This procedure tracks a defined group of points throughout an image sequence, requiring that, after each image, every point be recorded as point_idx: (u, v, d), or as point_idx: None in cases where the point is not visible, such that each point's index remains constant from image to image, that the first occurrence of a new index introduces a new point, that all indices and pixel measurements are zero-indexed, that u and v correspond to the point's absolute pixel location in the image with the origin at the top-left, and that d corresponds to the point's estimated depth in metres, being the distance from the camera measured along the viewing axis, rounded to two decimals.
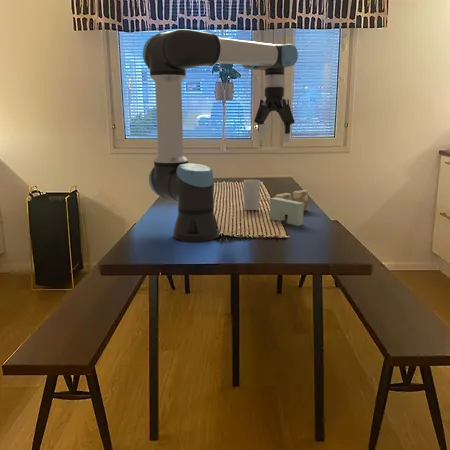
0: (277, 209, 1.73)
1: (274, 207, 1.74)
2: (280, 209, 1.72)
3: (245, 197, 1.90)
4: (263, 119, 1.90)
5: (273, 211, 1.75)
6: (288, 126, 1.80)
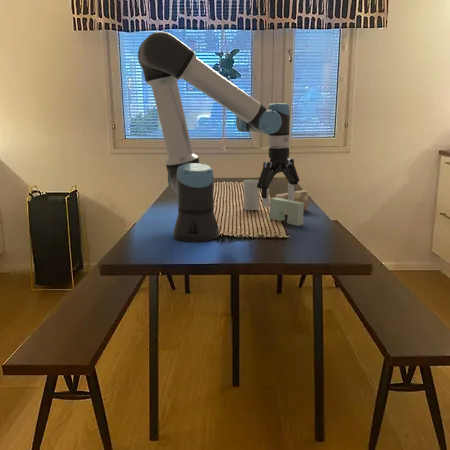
0: (277, 209, 1.73)
1: (274, 207, 1.74)
2: (280, 209, 1.72)
3: (245, 197, 1.90)
4: (289, 179, 1.76)
5: (273, 211, 1.75)
6: (262, 190, 1.68)
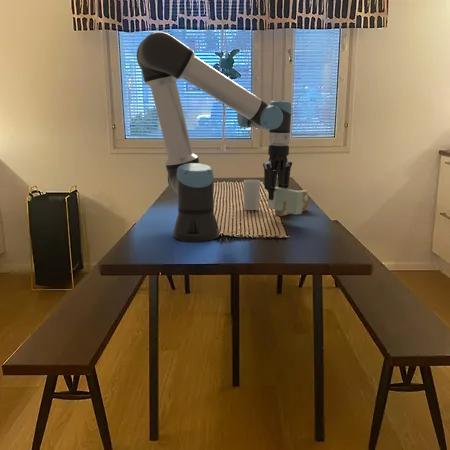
0: (276, 198, 1.72)
1: None
2: (279, 198, 1.71)
3: (245, 197, 1.90)
4: (280, 182, 1.74)
5: None
6: (269, 192, 1.71)
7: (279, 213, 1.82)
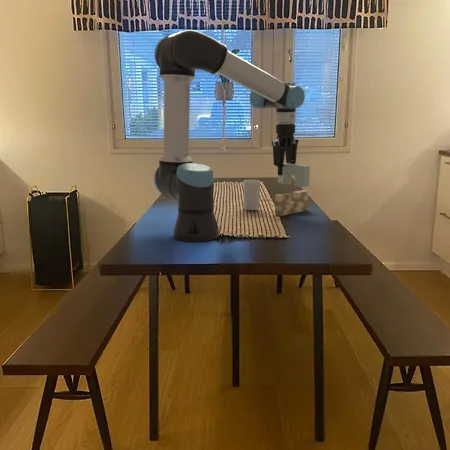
0: (285, 173, 1.85)
1: None
2: (287, 173, 1.84)
3: (245, 197, 1.90)
4: (288, 159, 1.87)
5: None
6: (278, 168, 1.85)
7: (279, 213, 1.82)
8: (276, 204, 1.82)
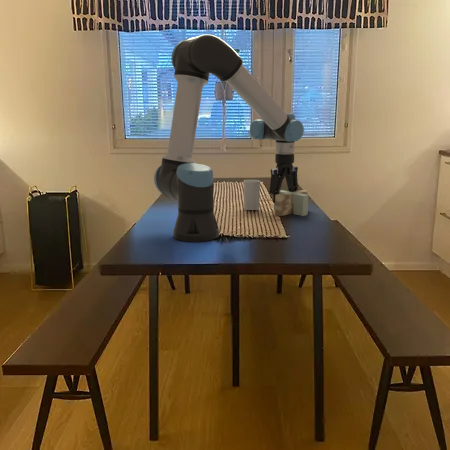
0: None
1: None
2: None
3: (245, 197, 1.90)
4: (289, 186, 1.91)
5: None
6: (274, 196, 1.86)
7: (279, 213, 1.82)
8: (276, 204, 1.82)
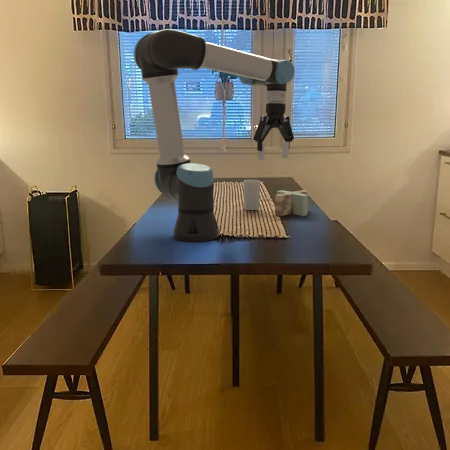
0: None
1: None
2: None
3: (245, 197, 1.90)
4: (284, 136, 1.83)
5: None
6: (258, 143, 1.75)
7: (279, 213, 1.82)
8: (276, 204, 1.82)
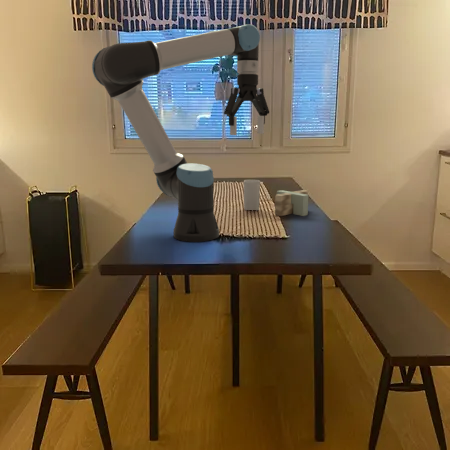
0: None
1: None
2: None
3: (245, 197, 1.90)
4: (258, 110, 1.73)
5: None
6: (229, 117, 1.64)
7: (279, 213, 1.82)
8: (276, 204, 1.82)
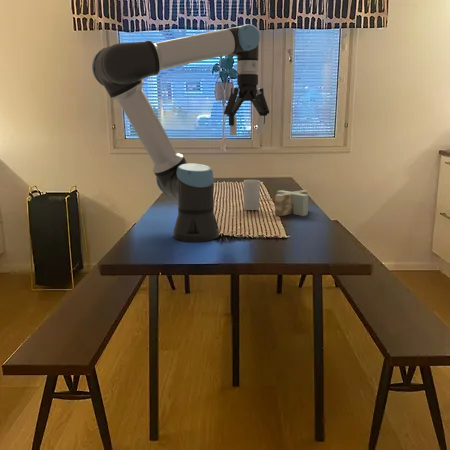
0: None
1: None
2: None
3: (245, 197, 1.90)
4: (258, 110, 1.72)
5: None
6: (229, 117, 1.64)
7: (279, 213, 1.82)
8: (276, 204, 1.82)
